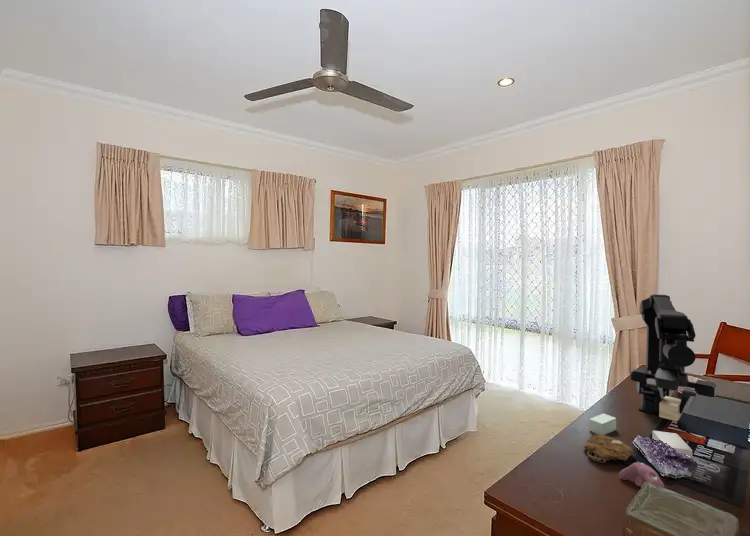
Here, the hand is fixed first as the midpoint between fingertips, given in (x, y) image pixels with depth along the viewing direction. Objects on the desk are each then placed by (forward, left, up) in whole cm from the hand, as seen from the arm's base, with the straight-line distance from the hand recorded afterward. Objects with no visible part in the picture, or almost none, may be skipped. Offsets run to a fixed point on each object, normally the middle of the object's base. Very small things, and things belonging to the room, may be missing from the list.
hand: (671, 410), depth 104 cm
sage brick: (+2, -17, -11) cm, 20 cm away
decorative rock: (+17, -11, -12) cm, 24 cm away
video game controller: (+29, -1, -11) cm, 31 cm away
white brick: (0, 0, -12) cm, 12 cm away
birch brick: (0, 0, -1) cm, 1 cm away
